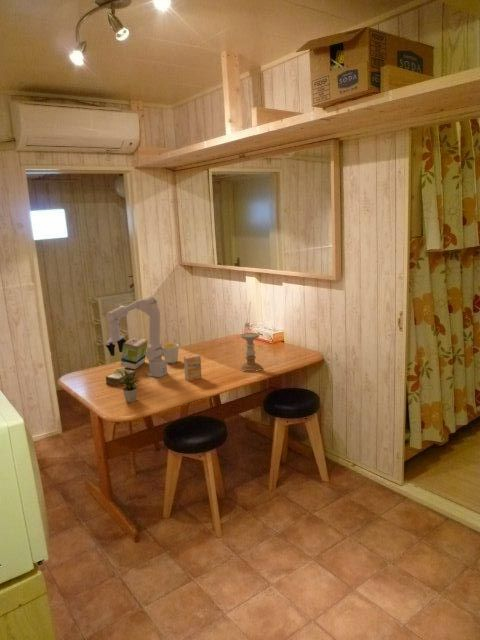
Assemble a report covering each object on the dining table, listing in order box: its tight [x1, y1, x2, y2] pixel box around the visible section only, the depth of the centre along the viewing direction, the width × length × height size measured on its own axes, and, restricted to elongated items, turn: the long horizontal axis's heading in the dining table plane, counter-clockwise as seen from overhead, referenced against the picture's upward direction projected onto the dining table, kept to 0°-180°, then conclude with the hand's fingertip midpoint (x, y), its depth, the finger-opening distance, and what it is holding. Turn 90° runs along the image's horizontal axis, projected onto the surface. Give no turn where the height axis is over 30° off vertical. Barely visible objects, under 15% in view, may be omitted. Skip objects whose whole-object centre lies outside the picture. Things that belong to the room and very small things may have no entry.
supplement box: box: [183, 353, 203, 382], centre depth 260 cm, size 8×5×13 cm, turn 118°
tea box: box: [120, 336, 149, 370], centre depth 286 cm, size 15×10×15 cm, turn 169°
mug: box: [162, 343, 180, 364], centre depth 293 cm, size 14×10×10 cm
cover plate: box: [107, 368, 135, 379], centre depth 261 cm, size 13×8×2 cm, turn 154°
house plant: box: [115, 369, 143, 403], centre depth 234 cm, size 14×14×16 cm
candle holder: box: [240, 332, 263, 372], centre depth 272 cm, size 12×12×20 cm
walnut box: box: [105, 370, 137, 387], centre depth 262 cm, size 13×10×4 cm
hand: (117, 353), depth 279 cm, fingers open, 7 cm apart
